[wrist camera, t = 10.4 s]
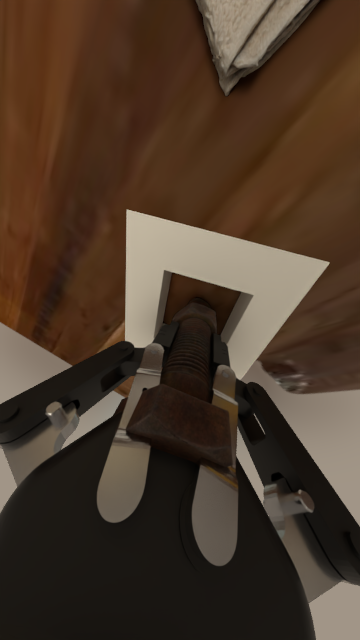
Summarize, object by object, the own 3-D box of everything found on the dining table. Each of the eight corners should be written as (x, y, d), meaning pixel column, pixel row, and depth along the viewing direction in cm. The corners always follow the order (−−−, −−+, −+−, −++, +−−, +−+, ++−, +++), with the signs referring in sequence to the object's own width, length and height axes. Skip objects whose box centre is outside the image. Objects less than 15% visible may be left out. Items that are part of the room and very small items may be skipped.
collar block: (301, 257, 14) (330, 262, 11) (232, 364, 23) (235, 386, 20) (145, 216, 15) (126, 209, 12) (137, 334, 24) (125, 350, 21)
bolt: (193, 331, 20) (160, 483, 8) (171, 305, 19) (85, 439, 6) (229, 311, 18) (270, 494, 5) (206, 279, 16) (181, 419, 4)
